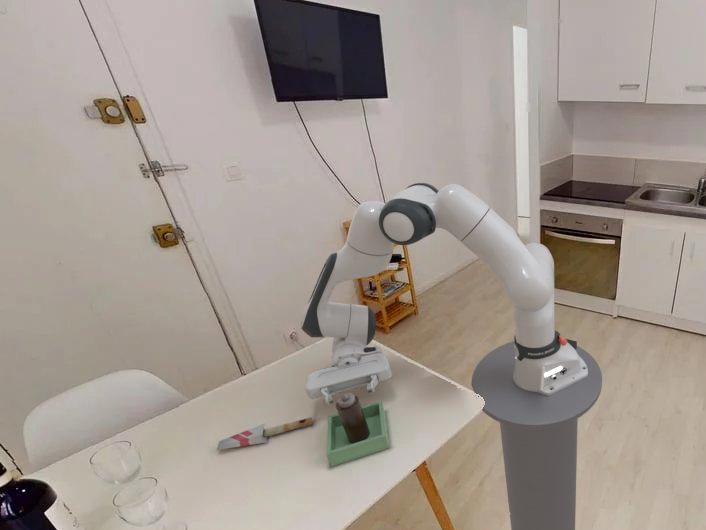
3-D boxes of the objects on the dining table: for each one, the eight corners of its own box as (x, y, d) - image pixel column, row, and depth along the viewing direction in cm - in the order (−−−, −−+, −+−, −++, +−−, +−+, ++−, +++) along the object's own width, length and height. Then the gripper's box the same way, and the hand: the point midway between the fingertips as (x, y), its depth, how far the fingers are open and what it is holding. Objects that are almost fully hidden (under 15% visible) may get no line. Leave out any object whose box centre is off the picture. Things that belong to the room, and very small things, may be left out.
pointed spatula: (217, 435, 97) (311, 411, 105) (221, 443, 99) (313, 419, 106) (213, 447, 94) (310, 422, 102) (217, 455, 96) (312, 430, 103)
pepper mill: (369, 425, 102) (356, 384, 96) (370, 439, 98) (356, 398, 92) (348, 431, 101) (332, 390, 94) (348, 446, 97) (332, 405, 90)
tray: (385, 412, 107) (381, 400, 105) (389, 447, 97) (385, 435, 95) (332, 427, 103) (328, 416, 101) (331, 466, 93) (326, 454, 91)
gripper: (303, 364, 106) (299, 399, 95) (385, 345, 113) (390, 374, 102) (311, 383, 109) (307, 418, 98) (390, 363, 116) (395, 393, 105)
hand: (350, 396), depth 100 cm, fingers open, 8 cm apart
